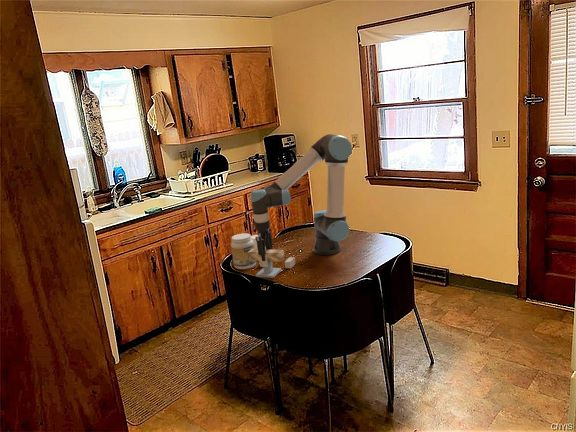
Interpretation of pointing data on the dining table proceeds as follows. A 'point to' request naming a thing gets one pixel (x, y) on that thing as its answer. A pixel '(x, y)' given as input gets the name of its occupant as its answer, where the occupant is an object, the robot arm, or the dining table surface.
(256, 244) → the white tapered cup
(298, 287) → the dining table surface
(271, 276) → the pale grey stand
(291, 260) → the rack
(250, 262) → the supplement tub
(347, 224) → the robot arm
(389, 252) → the dining table surface
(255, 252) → the bar
